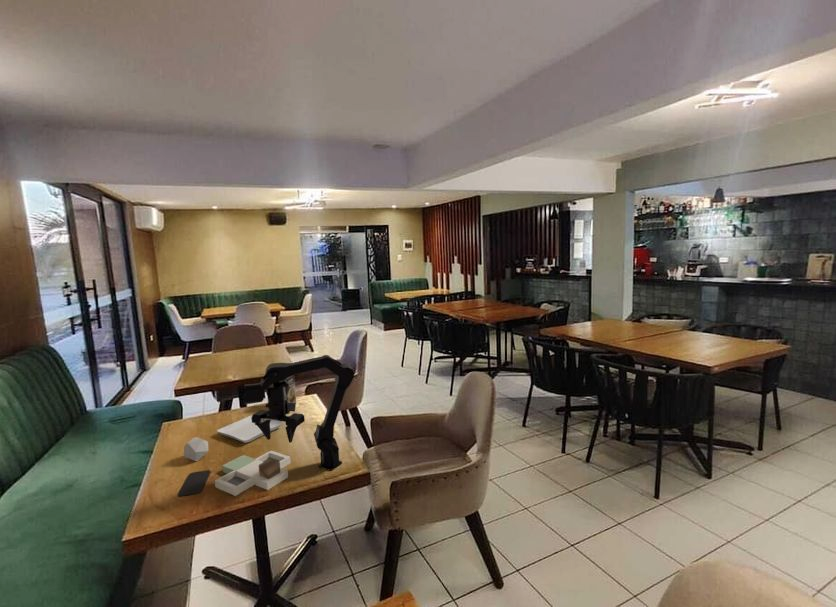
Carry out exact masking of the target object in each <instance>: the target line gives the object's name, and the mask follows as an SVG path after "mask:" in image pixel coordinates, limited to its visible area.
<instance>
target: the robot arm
mask: <svg viewBox="0 0 836 607" xmlns="http://www.w3.org/2000/svg"><path fill="white" fill-rule="evenodd" d="M325 368H326V369H327V370H329V372H332V373H333V374H335V376H334V388H333V391H332V395H331V396H330V401H329V403H328V406H327V409H326V411H325V412H326V413H325V416H324V419H323V421H322V423H321V424H316V426H315V430H314V432H313V437H314V440H315V443H316V447H317V449H318V450H319V451H320V455H319V456H320V464H318V467H319V468H322V469H324V470H328V471H330V472H331V471H333V470H334V469H336V468H337V467H339V466H340V465H342V464H343V461H342V460H340V452H339V451H340V450H339V449H340V448H339V445H338V443H337V439H336V438H335V437H334V435H335V434H334V433H335V432H334V431H335V424H336V421H337V418H338V415H339V412H340V410H341V406H342V404H343V403H342V402H343V401H344V400H343V399H344V396H345V393H346V391H347V390H348V389H349V387H350V386H351V384H352V383H353V380H354V377H355V371H354V370H353V368H352V367H351V366H350V365H349V364H347V363H342V362H340V361H338V360H336V359H335V358H333V357H331V356H330V355H328V354H324V355H322V356H316V357H311V358H309V359H304V360H299V361H295V362H272V363H270V364H268V365H267V367H266V368H265V370H264V371H265V374H264V376H263V377H262V378H261V380H260V382H257V383H247V384H246V383H245V384H244V386H243V389H244V392H243V393H244V396H243V400H244V404H245V405H251V404H259V403H263V401H264V399H266V396H267V403H266V404H265V408H268V410H266V409H260V410H258V411H257V412H254V413H253V414H252V417H251V419H252V423H255V425H257V426H258V427H259V429H260V430H261V431H262V432H263V434H264V435H263V436H264V437H265V438H266V439H267V441H270V440H271V434H272V433H271V432H270V421H271V420H275V421H282V422H285V425H286V426H285V431H286V435H287V440H288V443H290V444H291V443H292V442H293V440H294V436H295V434H296V429H297V428H298V427H299V426H300V425H301V424H303V423H304V422H305V415H304V414H303V413H299V412H297V413H296V404H297V402H296V403H292V402H288V401H287V400H285V396H284V387H288V386H289V382H287V381H286V380H285V379H287V378H288V377H290V376H292V375H294V376H295V375H300V374H304V373H308V372H313V371H316V370H321V369H325ZM291 412H293V413H292V414H291ZM289 414H291V415H289ZM288 415H289V416H288Z"/></svg>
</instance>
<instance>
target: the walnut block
mask: <svg viewBox="0 0 836 607" xmlns="http://www.w3.org/2000/svg"><path fill="white" fill-rule="evenodd" d="M279 473H280V462H278V461H276V460H273V459H269V460H267V461H265V462H263V463H261V464H260V465H259V476H262V477H264V478H267V479H270V478H272V477H274V476H275V475H277V474H279Z"/></svg>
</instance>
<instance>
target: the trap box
mask: <svg viewBox="0 0 836 607" xmlns="http://www.w3.org/2000/svg"><path fill="white" fill-rule="evenodd" d="M269 459H273V460H276V461H278V462H280V473H279V474H277V475H275V476H274V477H272V478H270V479H267V478H264V477H262V476H259V465H260V464H261V463H263V462H265V461H267V460H269ZM291 463H292V462H291V456H289V455H287V454H286V455H285V454H283V453H279V452H277V451H274V450H269V451H267V452H266V453H264V454H261V455H260V456H258V457H255V458H253V457H250V456H248V455H245V454H243V455H240V456H237V457H236V458H234V459H232V460H230V461H229V462H226V463H225V464H222V465H221V466H222V468H221V469H222V473H225V475H223V476H221V477H218V478H217V479H215V480H214V484H215V488H217V489H218V490H220V491H222V492H225V493H227V494H230V495H232V496H234V497H237V496H238V495H240V494H241V493H243V492H244V491H246V490H248V489H250V488H251V487H253V486H257V487H259V488H262V489H264V490H266V491H269V490H270V489H272V488H273V487H276V486H277V485H278V484H280V483H281V482H283V481H284V480H286V479H288V478H289V471H288V470H286V469H284V468H285V467H287V466H288V465H290V464H291Z"/></svg>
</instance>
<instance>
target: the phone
mask: <svg viewBox="0 0 836 607" xmlns="http://www.w3.org/2000/svg"><path fill="white" fill-rule="evenodd" d="M210 475H211V470H210V469H206V470H201V471H193V472H190V473H189V474H188V475H187V477H186V479H185V481H184V483H183V484H182V486H181V487H180V490H179V492H178V493H177V497H179V498H182V497H189V496H195V495H198V494H201V493H202V491H203V489H204V488H205V486H206V483H207V480H208V479H209V477H210Z"/></svg>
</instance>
